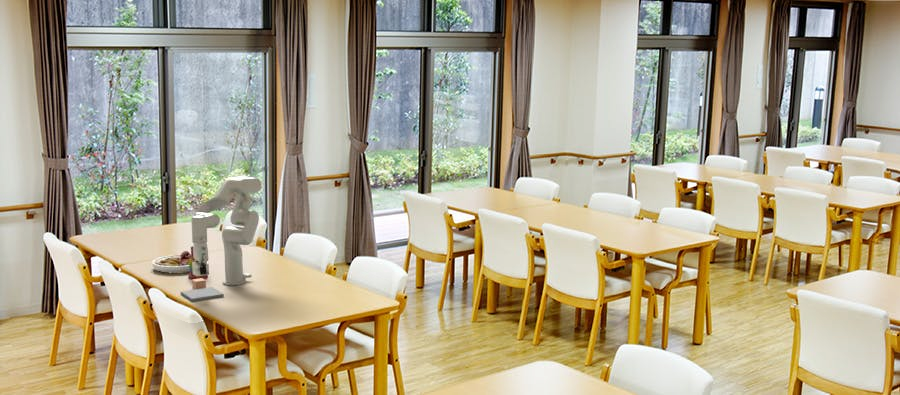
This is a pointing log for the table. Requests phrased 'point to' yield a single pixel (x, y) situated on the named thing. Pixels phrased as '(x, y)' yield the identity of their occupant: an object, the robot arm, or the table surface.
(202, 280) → the terracotta block
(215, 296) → the base board
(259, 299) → the table surface
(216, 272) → the table surface
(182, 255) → the bowl
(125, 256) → the table surface
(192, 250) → the stacking bear
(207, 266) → the cream block
